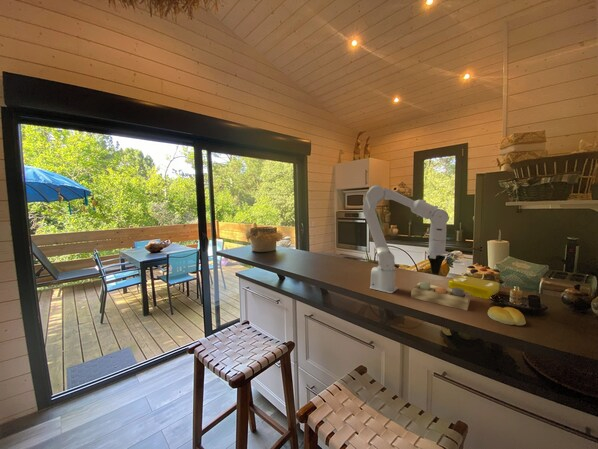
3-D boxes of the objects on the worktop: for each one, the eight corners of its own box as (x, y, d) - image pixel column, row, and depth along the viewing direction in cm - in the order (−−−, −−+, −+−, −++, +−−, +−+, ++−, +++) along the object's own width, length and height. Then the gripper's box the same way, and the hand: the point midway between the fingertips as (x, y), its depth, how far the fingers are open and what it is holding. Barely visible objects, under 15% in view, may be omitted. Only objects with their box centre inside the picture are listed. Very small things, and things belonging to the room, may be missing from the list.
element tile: (489, 301, 92) (490, 288, 92) (446, 290, 104) (447, 279, 104) (499, 292, 102) (500, 281, 102) (459, 283, 113) (459, 273, 113)
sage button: (418, 291, 96) (419, 283, 96) (420, 289, 99) (421, 281, 99) (428, 294, 94) (429, 285, 94) (430, 291, 97) (431, 283, 97)
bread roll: (483, 313, 82) (483, 301, 81) (515, 316, 79) (516, 304, 79) (494, 324, 74) (495, 311, 73) (531, 328, 71) (532, 315, 71)
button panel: (411, 297, 94) (411, 290, 94) (418, 289, 103) (419, 282, 103) (467, 310, 83) (467, 301, 83) (470, 300, 92) (470, 292, 92)
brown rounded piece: (434, 297, 93) (434, 288, 93) (435, 295, 96) (436, 286, 95) (444, 300, 91) (445, 291, 90) (446, 297, 93) (447, 288, 93)
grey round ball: (451, 298, 89) (451, 289, 89) (452, 296, 92) (453, 287, 92) (462, 301, 87) (463, 291, 87) (463, 298, 90) (464, 289, 90)
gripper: (445, 242, 87) (443, 279, 88) (452, 239, 98) (450, 271, 99) (424, 240, 92) (422, 276, 93) (432, 237, 103) (431, 268, 104)
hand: (435, 273), depth 96 cm, fingers closed
